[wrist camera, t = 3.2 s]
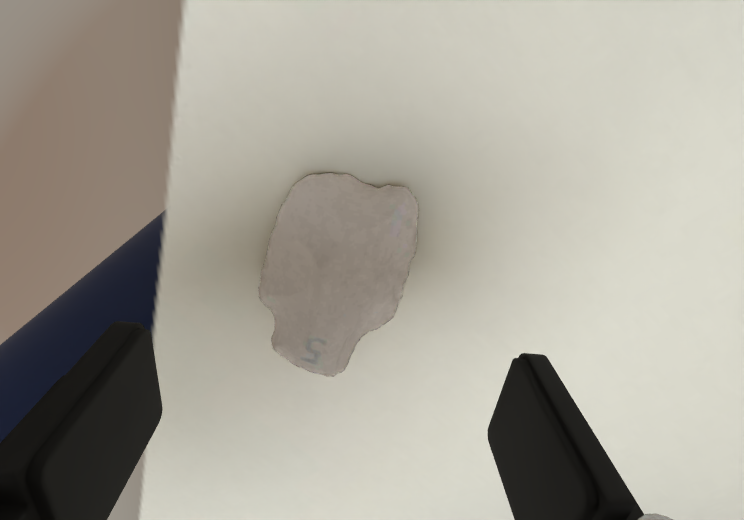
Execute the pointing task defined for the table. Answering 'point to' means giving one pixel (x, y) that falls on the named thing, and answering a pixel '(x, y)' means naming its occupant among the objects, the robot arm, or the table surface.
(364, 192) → the decorative stone
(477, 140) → the table surface
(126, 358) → the robot arm
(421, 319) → the table surface
